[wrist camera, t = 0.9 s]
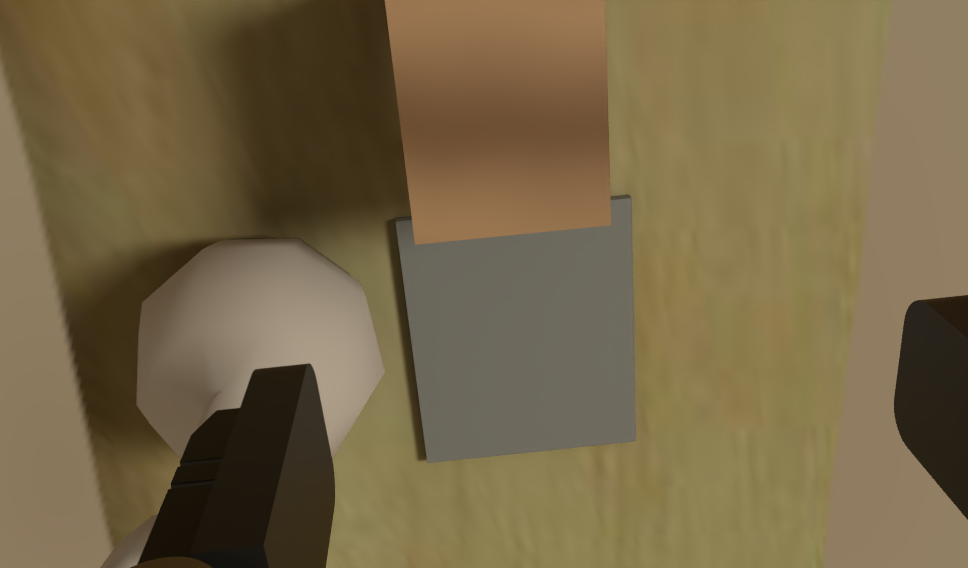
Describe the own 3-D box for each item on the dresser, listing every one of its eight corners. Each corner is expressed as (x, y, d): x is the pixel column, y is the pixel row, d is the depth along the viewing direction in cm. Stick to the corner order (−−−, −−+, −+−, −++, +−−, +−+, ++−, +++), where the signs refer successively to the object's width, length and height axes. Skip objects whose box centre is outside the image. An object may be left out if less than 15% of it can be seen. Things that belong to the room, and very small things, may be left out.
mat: (395, 218, 34) (395, 221, 34) (629, 194, 34) (631, 198, 34) (427, 457, 38) (427, 462, 38) (633, 436, 39) (635, 441, 38)
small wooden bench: (390, -49, 30) (380, -34, 24) (566, -65, 30) (603, -55, 24) (417, 177, 33) (415, 244, 27) (576, 162, 33) (611, 225, 27)
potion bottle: (352, 432, 38) (294, 848, 21) (140, 374, 36) (-101, 779, 20) (417, 250, 35) (409, 573, 18) (189, 177, 33) (-49, 462, 16)
